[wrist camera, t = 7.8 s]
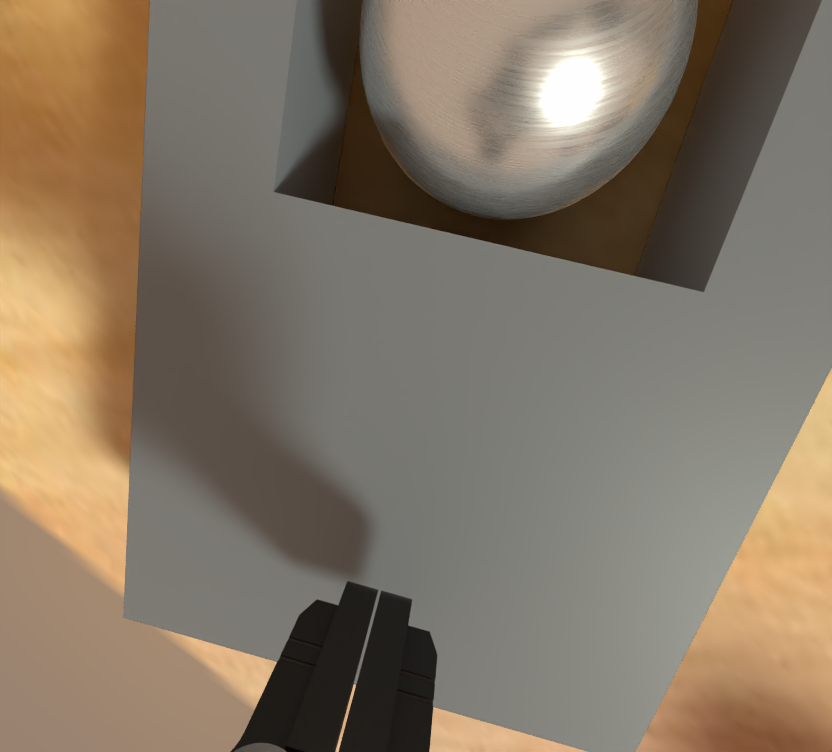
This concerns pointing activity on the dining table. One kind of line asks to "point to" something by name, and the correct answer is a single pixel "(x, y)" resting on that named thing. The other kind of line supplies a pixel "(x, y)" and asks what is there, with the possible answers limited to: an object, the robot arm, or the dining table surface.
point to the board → (465, 375)
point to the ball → (520, 93)
